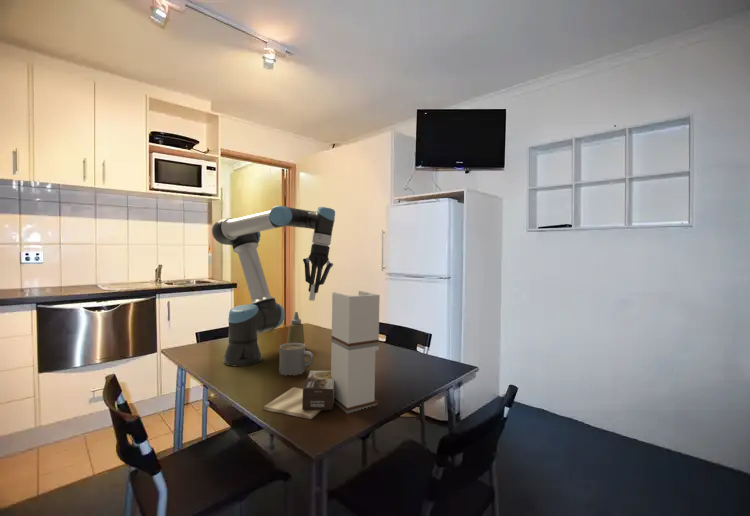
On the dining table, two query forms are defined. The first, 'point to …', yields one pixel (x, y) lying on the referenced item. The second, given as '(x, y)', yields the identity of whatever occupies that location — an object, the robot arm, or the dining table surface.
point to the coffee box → (318, 391)
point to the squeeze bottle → (296, 330)
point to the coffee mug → (293, 359)
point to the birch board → (291, 404)
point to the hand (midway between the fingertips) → (311, 300)
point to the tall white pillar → (354, 349)
